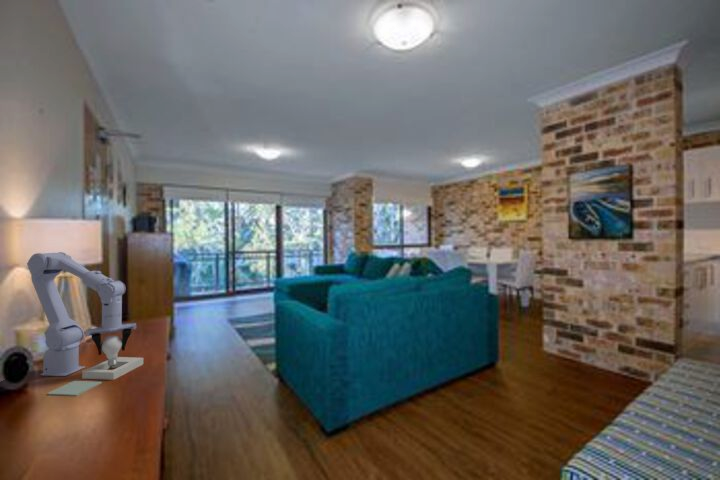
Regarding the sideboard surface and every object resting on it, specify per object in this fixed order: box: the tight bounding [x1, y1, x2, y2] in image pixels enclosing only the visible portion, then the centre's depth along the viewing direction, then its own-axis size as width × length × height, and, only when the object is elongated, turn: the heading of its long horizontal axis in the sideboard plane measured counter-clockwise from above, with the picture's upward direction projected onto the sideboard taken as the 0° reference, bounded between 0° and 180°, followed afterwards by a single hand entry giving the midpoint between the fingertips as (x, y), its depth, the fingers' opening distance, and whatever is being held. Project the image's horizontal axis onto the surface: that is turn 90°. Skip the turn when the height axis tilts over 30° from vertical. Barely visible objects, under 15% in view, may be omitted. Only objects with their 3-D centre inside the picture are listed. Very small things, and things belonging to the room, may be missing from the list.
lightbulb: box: [101, 335, 123, 366], centre depth 118 cm, size 6×6×11 cm
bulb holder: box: [81, 356, 144, 381], centre depth 119 cm, size 12×14×2 cm
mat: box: [46, 380, 103, 397], centre depth 105 cm, size 10×9×1 cm
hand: (111, 351), depth 118 cm, fingers closed on lightbulb, 6 cm apart
